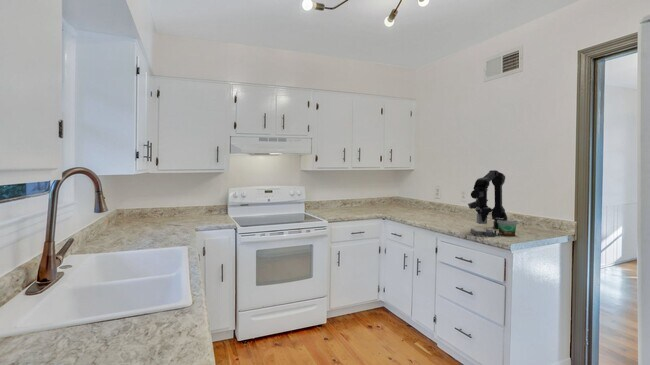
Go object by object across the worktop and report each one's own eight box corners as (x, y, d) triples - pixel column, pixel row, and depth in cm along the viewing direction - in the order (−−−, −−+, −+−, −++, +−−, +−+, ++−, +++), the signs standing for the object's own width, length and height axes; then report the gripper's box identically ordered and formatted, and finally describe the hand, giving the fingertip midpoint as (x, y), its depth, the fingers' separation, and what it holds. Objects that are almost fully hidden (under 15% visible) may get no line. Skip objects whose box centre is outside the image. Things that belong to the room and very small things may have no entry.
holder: (487, 232, 215) (487, 228, 214) (493, 235, 205) (493, 231, 205) (470, 232, 216) (470, 228, 216) (475, 235, 206) (475, 231, 206)
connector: (484, 222, 212) (484, 213, 212) (487, 223, 207) (487, 214, 207) (476, 222, 213) (476, 213, 213) (478, 223, 208) (479, 214, 208)
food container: (500, 236, 202) (500, 221, 202) (496, 234, 208) (496, 219, 208) (520, 237, 200) (521, 221, 200) (516, 235, 206) (517, 219, 206)
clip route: (495, 233, 211) (495, 229, 210) (502, 237, 200) (502, 233, 200) (477, 233, 212) (477, 229, 212) (483, 236, 201) (483, 232, 201)
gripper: (465, 196, 220) (464, 218, 220) (473, 199, 201) (473, 223, 202) (482, 196, 218) (481, 218, 219) (492, 199, 200) (492, 223, 200)
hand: (481, 221), depth 210 cm, fingers closed on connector, 5 cm apart
